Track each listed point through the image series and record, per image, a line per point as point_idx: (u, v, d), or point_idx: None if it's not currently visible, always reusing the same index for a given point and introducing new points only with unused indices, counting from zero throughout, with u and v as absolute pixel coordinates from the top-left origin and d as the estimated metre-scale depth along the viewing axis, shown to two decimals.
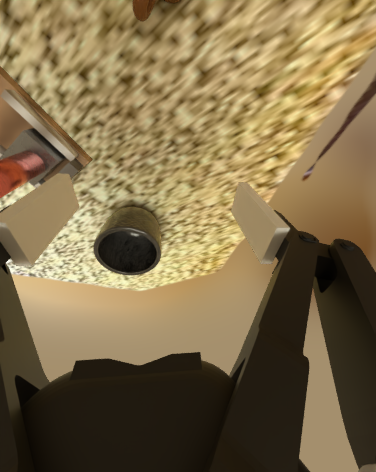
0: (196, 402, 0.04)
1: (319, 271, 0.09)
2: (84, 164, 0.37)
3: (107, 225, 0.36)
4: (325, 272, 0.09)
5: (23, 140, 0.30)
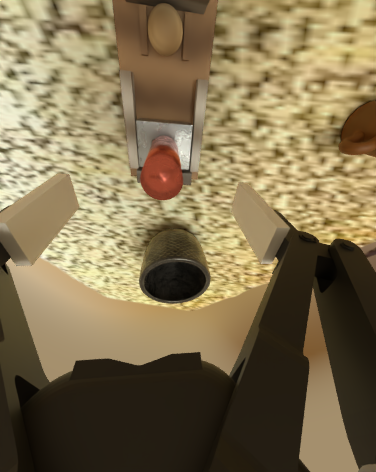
0: (196, 401, 0.04)
1: (319, 271, 0.09)
2: (191, 177, 0.33)
3: (180, 250, 0.33)
4: (325, 272, 0.09)
5: (181, 131, 0.25)
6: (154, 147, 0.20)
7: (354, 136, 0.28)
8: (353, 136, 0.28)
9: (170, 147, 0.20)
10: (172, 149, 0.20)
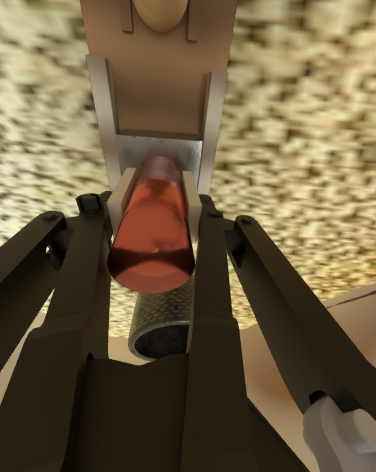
0: None
1: (226, 244, 0.11)
2: None
3: (183, 305, 0.24)
4: (231, 245, 0.11)
5: (186, 149, 0.17)
6: (141, 186, 0.11)
7: None
8: None
9: (169, 185, 0.12)
10: (172, 190, 0.11)
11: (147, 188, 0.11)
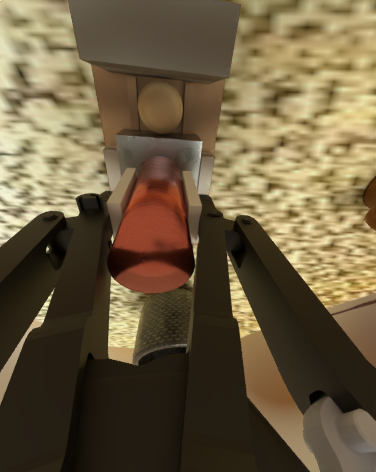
0: None
1: (226, 244, 0.11)
2: (192, 243, 0.29)
3: (180, 329, 0.28)
4: (231, 245, 0.11)
5: (186, 149, 0.17)
6: (141, 186, 0.11)
7: None
8: None
9: (169, 186, 0.12)
10: (172, 190, 0.11)
11: (147, 188, 0.11)
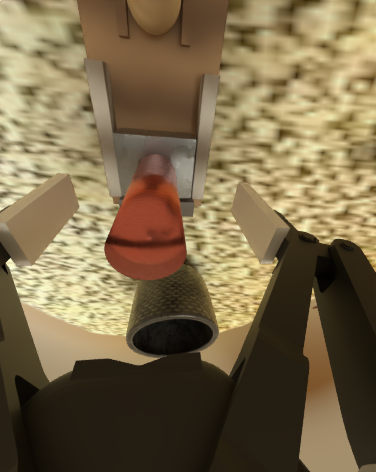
0: (196, 401, 0.04)
1: (318, 271, 0.09)
2: None
3: (180, 300, 0.25)
4: (325, 272, 0.09)
5: (181, 147, 0.17)
6: (136, 181, 0.12)
7: None
8: None
9: (163, 180, 0.12)
10: (166, 184, 0.12)
11: (142, 182, 0.11)
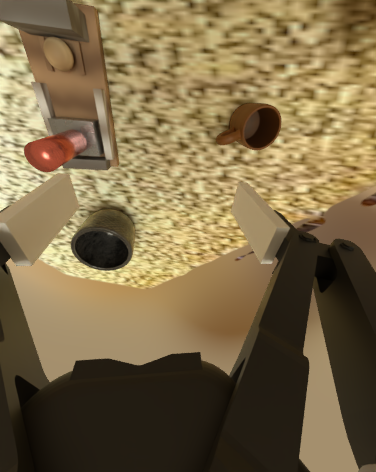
0: (196, 401, 0.04)
1: (318, 271, 0.09)
2: (112, 165, 0.42)
3: (102, 222, 0.41)
4: (325, 272, 0.09)
5: (85, 126, 0.33)
6: (48, 136, 0.28)
7: (227, 131, 0.37)
8: (226, 131, 0.37)
9: (60, 136, 0.28)
10: (61, 138, 0.28)
11: (49, 136, 0.28)
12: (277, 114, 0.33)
